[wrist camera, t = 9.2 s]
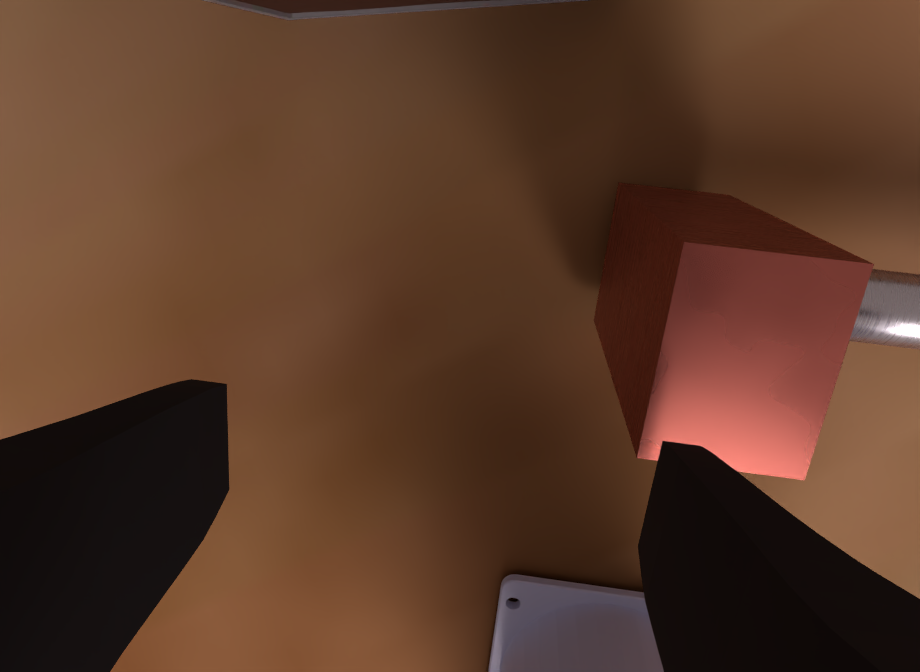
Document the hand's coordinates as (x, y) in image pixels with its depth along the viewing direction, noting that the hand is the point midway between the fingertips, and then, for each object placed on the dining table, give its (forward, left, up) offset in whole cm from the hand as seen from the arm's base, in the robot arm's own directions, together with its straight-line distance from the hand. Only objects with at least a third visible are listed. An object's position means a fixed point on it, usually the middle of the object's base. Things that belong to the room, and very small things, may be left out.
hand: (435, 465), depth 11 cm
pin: (+2, -10, -9) cm, 14 cm away
